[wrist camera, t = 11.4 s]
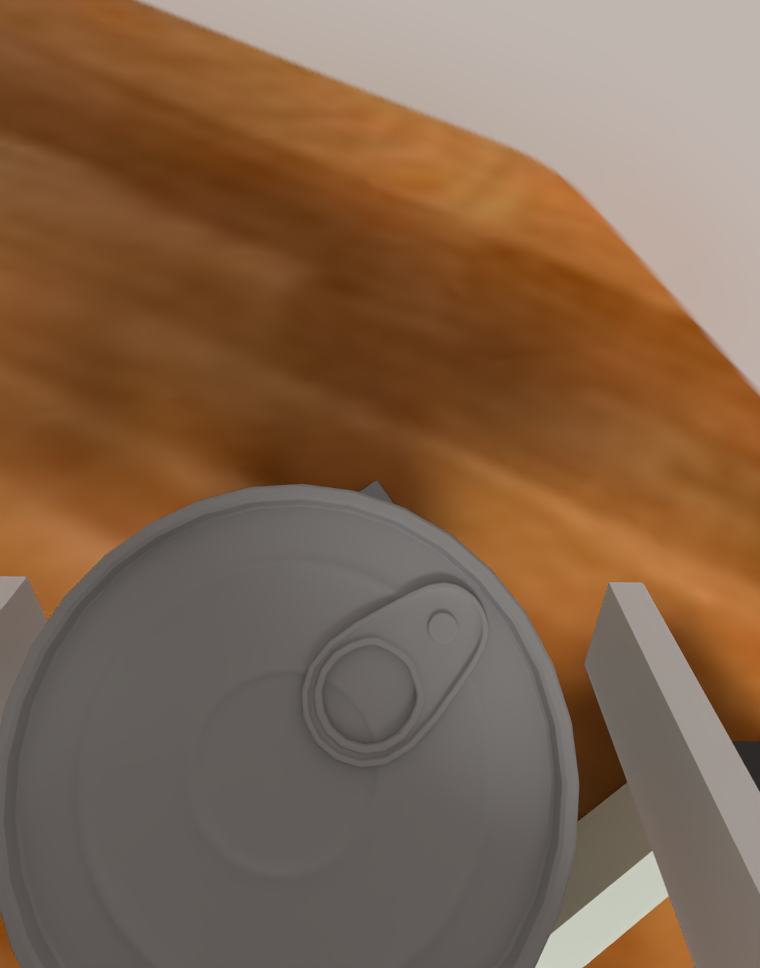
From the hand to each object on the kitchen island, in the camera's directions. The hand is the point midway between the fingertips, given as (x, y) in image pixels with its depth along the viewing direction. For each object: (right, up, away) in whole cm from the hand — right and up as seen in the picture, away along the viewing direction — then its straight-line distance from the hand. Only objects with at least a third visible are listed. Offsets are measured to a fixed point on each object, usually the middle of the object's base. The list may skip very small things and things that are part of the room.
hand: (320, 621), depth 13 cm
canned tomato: (0, -3, +5) cm, 6 cm away
